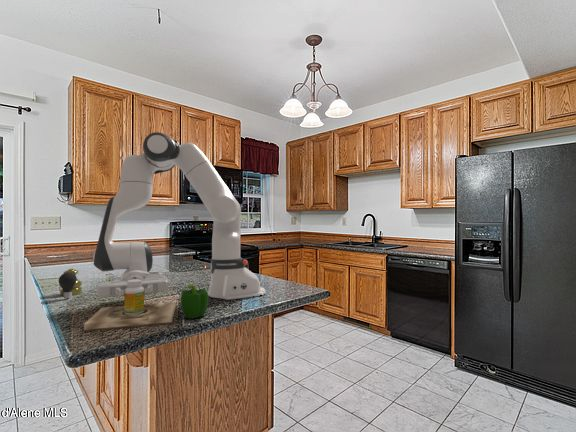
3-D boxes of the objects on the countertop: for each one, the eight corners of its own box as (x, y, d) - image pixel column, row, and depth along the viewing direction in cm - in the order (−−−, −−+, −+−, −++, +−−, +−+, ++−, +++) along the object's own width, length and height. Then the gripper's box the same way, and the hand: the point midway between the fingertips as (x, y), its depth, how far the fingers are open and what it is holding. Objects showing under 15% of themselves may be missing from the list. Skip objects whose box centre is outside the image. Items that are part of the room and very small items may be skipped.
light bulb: (64, 297, 121) (64, 271, 121) (79, 296, 122) (79, 270, 122) (55, 301, 115) (55, 273, 116) (71, 300, 116) (71, 273, 116)
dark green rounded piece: (54, 295, 124) (54, 270, 124) (72, 291, 131) (72, 267, 131) (70, 296, 122) (70, 270, 122) (86, 292, 129) (86, 267, 129)
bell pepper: (197, 310, 102) (197, 280, 102) (213, 315, 97) (213, 283, 97) (174, 317, 96) (174, 284, 96) (189, 322, 91) (189, 288, 91)
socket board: (175, 308, 105) (175, 302, 105) (171, 323, 90) (171, 316, 90) (101, 313, 99) (101, 307, 99) (84, 331, 84) (84, 323, 84)
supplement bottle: (136, 316, 92) (136, 282, 92) (120, 315, 93) (120, 281, 93) (147, 310, 97) (148, 279, 97) (132, 309, 98) (132, 278, 98)
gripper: (99, 276, 102) (93, 285, 90) (166, 272, 111) (170, 279, 98) (98, 296, 102) (93, 307, 89) (166, 290, 111) (170, 299, 98)
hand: (134, 292), depth 94 cm, fingers closed on supplement bottle, 5 cm apart
